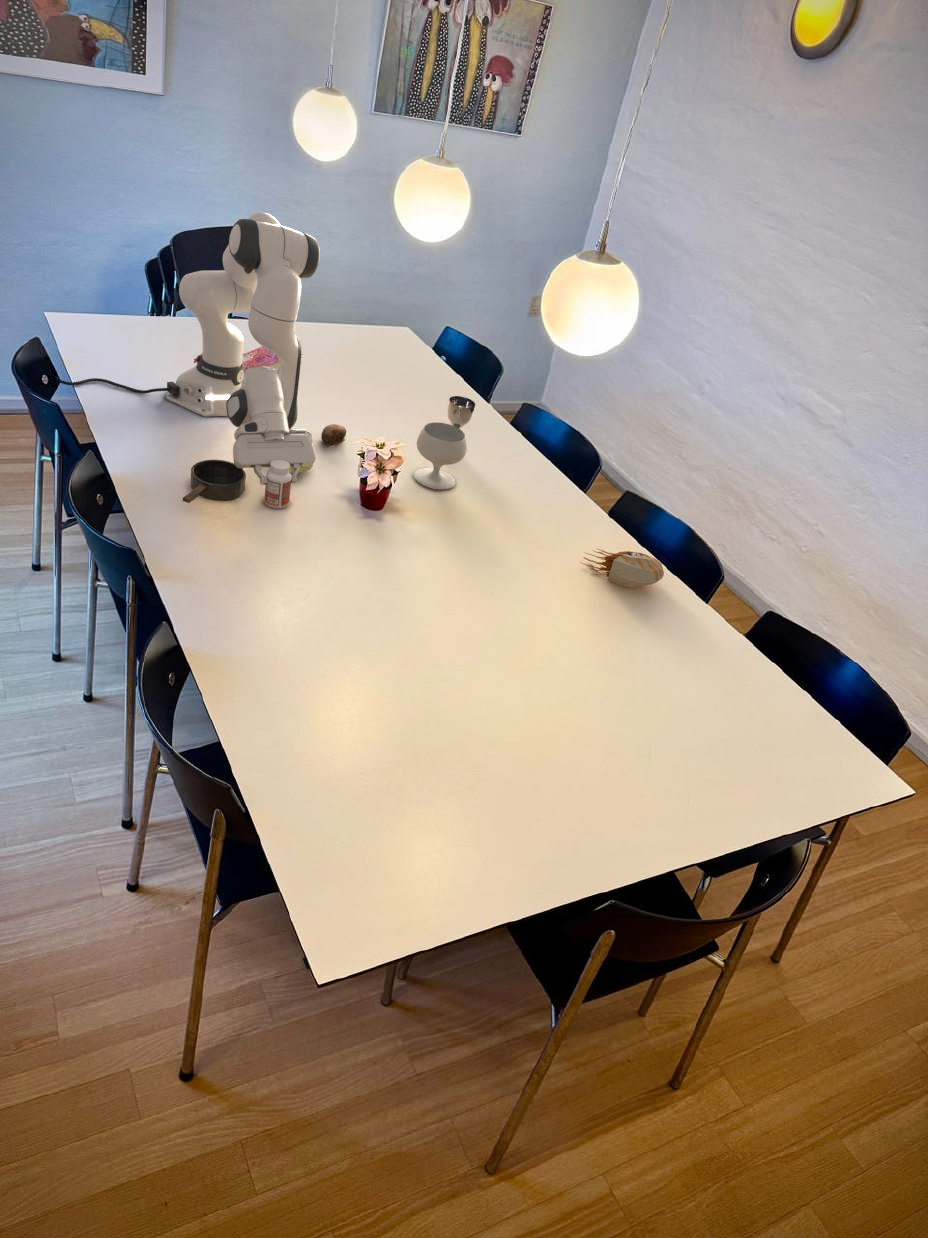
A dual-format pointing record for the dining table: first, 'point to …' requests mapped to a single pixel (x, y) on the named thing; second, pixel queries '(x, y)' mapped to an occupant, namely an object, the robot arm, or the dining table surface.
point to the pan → (218, 479)
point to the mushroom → (333, 434)
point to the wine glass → (460, 410)
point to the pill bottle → (278, 484)
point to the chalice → (439, 453)
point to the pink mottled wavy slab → (262, 359)
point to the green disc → (302, 468)
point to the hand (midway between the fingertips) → (279, 483)
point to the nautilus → (630, 568)
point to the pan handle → (195, 493)
